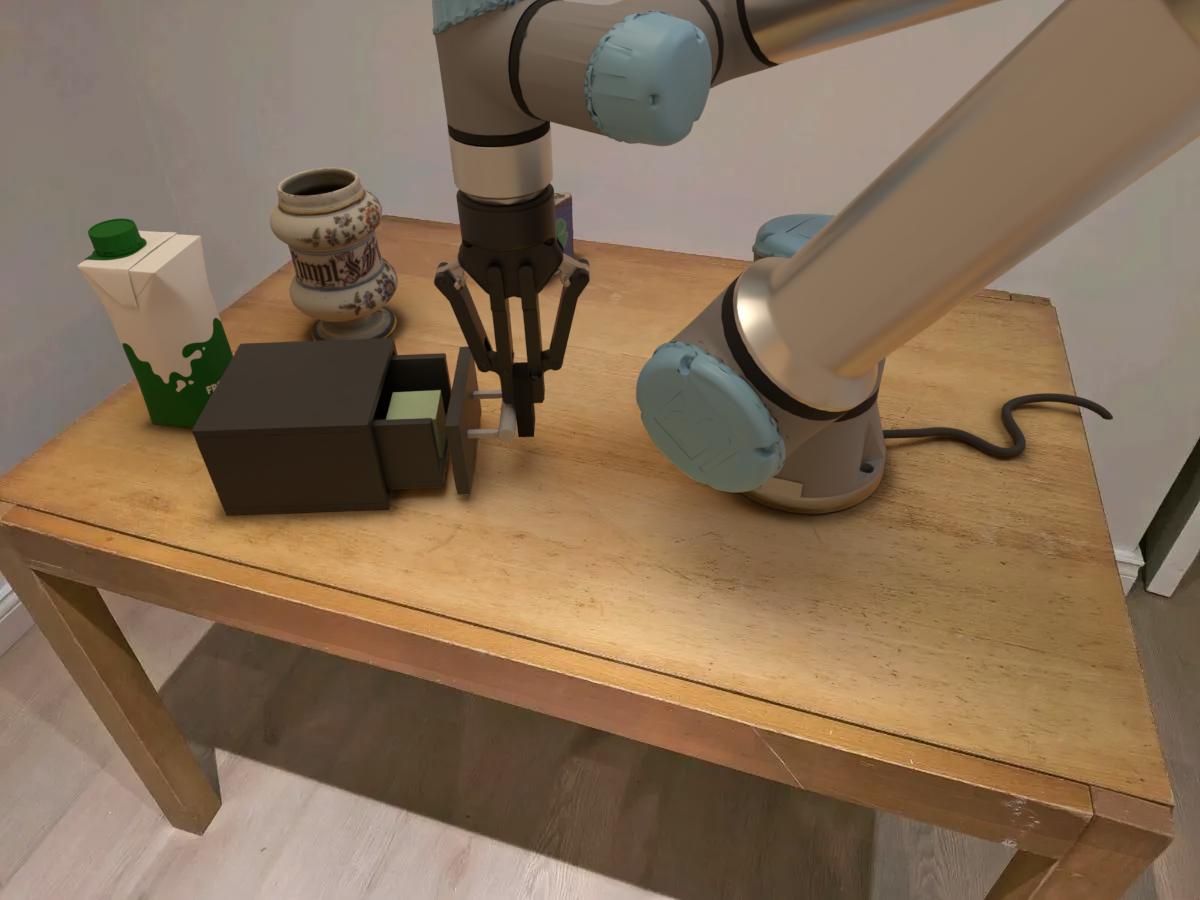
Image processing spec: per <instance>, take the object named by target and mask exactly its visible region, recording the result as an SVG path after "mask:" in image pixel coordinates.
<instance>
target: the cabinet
mask: <svg viewBox="0 0 1200 900" xmlns="http://www.w3.org/2000/svg"><path fill="white" fill-rule="evenodd" d="M392 355H398V351H397V346H396V341H395V338H394V337H387V338H379V339H352V340H325V341H314V340H307V341H306V340H303V341H301V340H299V341H275V342H274V341H273V342H251V343H250V342H248V343H247V342H246V343H240V344H239V346H238V348H237V349H236V351H235V352H234V354H233V358H232V360H231V361H230V363H229V365H228V367H227V369H226V370H225V372H224V374H223V376H222V378H221V379H220V381H219V383H218V385H217V387H216V388H215V390H214V392H213V394H212V395H211V397H210V399H209V401H208V403H207V404H206V406H205V408H204V410H203V412H202V413H201V415H200V417H199V419H198V421H197V422H196V424H195V426H194V428H192V430H191V433H192V435H193V438H194V441H195V444H196V445H197V449H198V450H199V453H200V455H201V458H202V461H203V462H204V465H205V468H206V470H207V473H208V475H209V477H210V479H211V482H212V485H213V487H214V489H215V492H216V494H217V497H218V499H219V502H220V504H221V506H222V508H223V511H224V514H225V516H244V515H245V516H247V515H248V516H249V515H250V516H251V515H275V514H276V515H277V514H299V513H325V512H328V513H329V512H352V511H353V512H356V511H381V510H383V511H384V510H389V509H390V506H391V505H390V504H391V501H392V497H393V492H394V489H390V490H386V486H385V482H384V478H383V473H382V469H381V465H380V461H379V457H378V453H377V449H376V445H375V441H374V437H373V433H372V429H371V424H372V420H373V417H374V414H375V410H376V407H377V404H378V400H379V397H380V394H381V390H382V387H383V384H384V380H385V377H386V374H387V370H388V367H389V364H390V360H391V357H392Z"/></svg>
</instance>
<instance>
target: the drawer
mask: <svg viewBox="0 0 1200 900" xmlns="http://www.w3.org/2000/svg"><path fill="white" fill-rule="evenodd" d="M458 349H459V350H458V355H457V361H456V366H455V370H454V375H453V376H454V377H453V381H452V385H451V378H450V373H449V366H448V360H447V355H446V352H445V353H444V352H442V353H441V352H440V353H415V354H414V353H413V354H411V353H410V354H397V355H392V357H391V360H390V364H389V367H388V370H387V374H386V377H385V380H384V384H383V387H382V390H381V394H380V397H379V400H378V404H377V407H376V410H375V414H374V417H373V420H372V424H371V429H372V433H373V437H374V441H375V445H376V449H377V453H378V457H379V461H380V465H381V469H382V473H383V478H384V482H385V486H386V490H390V489H393V490H414V489H415V490H417V489H439V488H440V489H442V488H444V483H445V477H446V473H447V466H448V460H449V457H450V463H451V470H452V474H453V479H454V486H455V492H456V495H457V496H460V495H461V496H463V495H464V496H465V495H471V494H472V485H473V478H474V472H475V464H476V458H477V457H476V456H477V451H478V450H477V449H478V442H479V439H491V438H492V439H493V438H498V439H499V440H500V441H501V442H503V443H511V442H513V441H514V440H515V439H516V431H517V419H516V410H515V404H505V403H504V402H503V400H502V391H501V389H489V390H487V389H485V390H480V389H479V382H478V376H477V375H478V374H477V370H476V363H475V361H474V358H473V356H472V354H471V351H470V349H469V347H468V346H459V348H458ZM434 390H441V393H442V399H443V405H444V410H445V416H446V423H445V430H446V441H445V448H444V454H443V457H442V458H439V454H438V448H437V443H436V438H435V432H434V427H433V422H432V418H416V419H389V420H386V417H387V413H388V409H389V405H390V402H391V398H392V394H393V392H412V391H434ZM490 399H501V405H500V406H501V408H500V416H499V423H498V428H480V427H481V421H482V413H483V412H482V404H481V400H490Z"/></svg>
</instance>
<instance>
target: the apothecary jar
mask: <svg viewBox="0 0 1200 900" xmlns="http://www.w3.org/2000/svg"><path fill="white" fill-rule="evenodd" d="M276 191H277V197H278V199H277V201H278V202H277V203H276V204H275V205H274V207H273V209H272V210H271V213H270V215H269V226H270V229H271V231H272V233H273V235H274V236H275V237H276V238H277V239H278V240H280V241H281V242H282V243H284V244H286V245H287V247H288V250H289V253H290V256H291V260H292V265H293V269H294V273H295V275H294V276H293V278H292V280H291V282H290V285H289V298H290V300H291V302H292V304H293V306H294V307H295V308H296V309H297V310H298V311H299V312H301V313H302V314H304V315H306V316H308V317H309V318H312V319H314V320H316V321H315V322H314V324H313V326H312V328H311V338H312V339H313V341H325V340H352V339H379V338H389V336H391V335H392V333H393V332H394V331H395V329H396V327H397V325H398V324H397V323H398V322H397V317H396V315H395V313H394V312H393V311H392V310H390V309H389V308H387V307H385V306H386V305H388V303H389V302H390V301H391V300H392V298H393V297H394V295H395V294H396V292H397V288H398V283H399V281H398V280H399V279H398V274H397V272H396V270H395V268H394V267H393V265H392V264H391V263H390V262H389V261H388V260H386V259H385V258H384V257H382V254H381V251H380V247H379V243H378V239H377V234H376V229H377V228H378V227H379V225H380V223H381V221H382V218H383V207H382V205H381V202H380V200H379V199H378V198H377V197H376V195H375V194H373V193H372V192H371V191H369V190H368V189H365V187H364V186H363V185H362V183H361V180H360V177H359V175H358V173H356V172H355V171H353V170H351V169H349V168H344V167H337V166H336V167H335V166H334V167H333V166H332V167H331V166H328V167H318V168H317V167H316V168H311V169H307V170H303V171H299V172H297V173H294V174H292V175H290V176H287V177H286V178H284V179H282V180H281V181H280V182H279V183H278V185H277V188H276Z"/></svg>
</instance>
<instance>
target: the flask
mask: <svg viewBox="0 0 1200 900" xmlns="http://www.w3.org/2000/svg"><path fill="white" fill-rule="evenodd" d="M554 199H555V216H556V233H557V237H558V239H559V241H560V242H561V244H562V245H563V249H564V254H566V255H568V256H570V257H571V258H573V259H575V252H574V247H575V246H574V223H573V222H574V221H573V220H574V219H573V196H572V194H571V193H570V192H567V191H561V190H560V191H554ZM560 272H561V270H560V269H559V268H558V269H557V271H556V272H555V273H554V275H553V276H552V277H551V278H553V277H554V276H556V275H558V274H559V273H560Z"/></svg>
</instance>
